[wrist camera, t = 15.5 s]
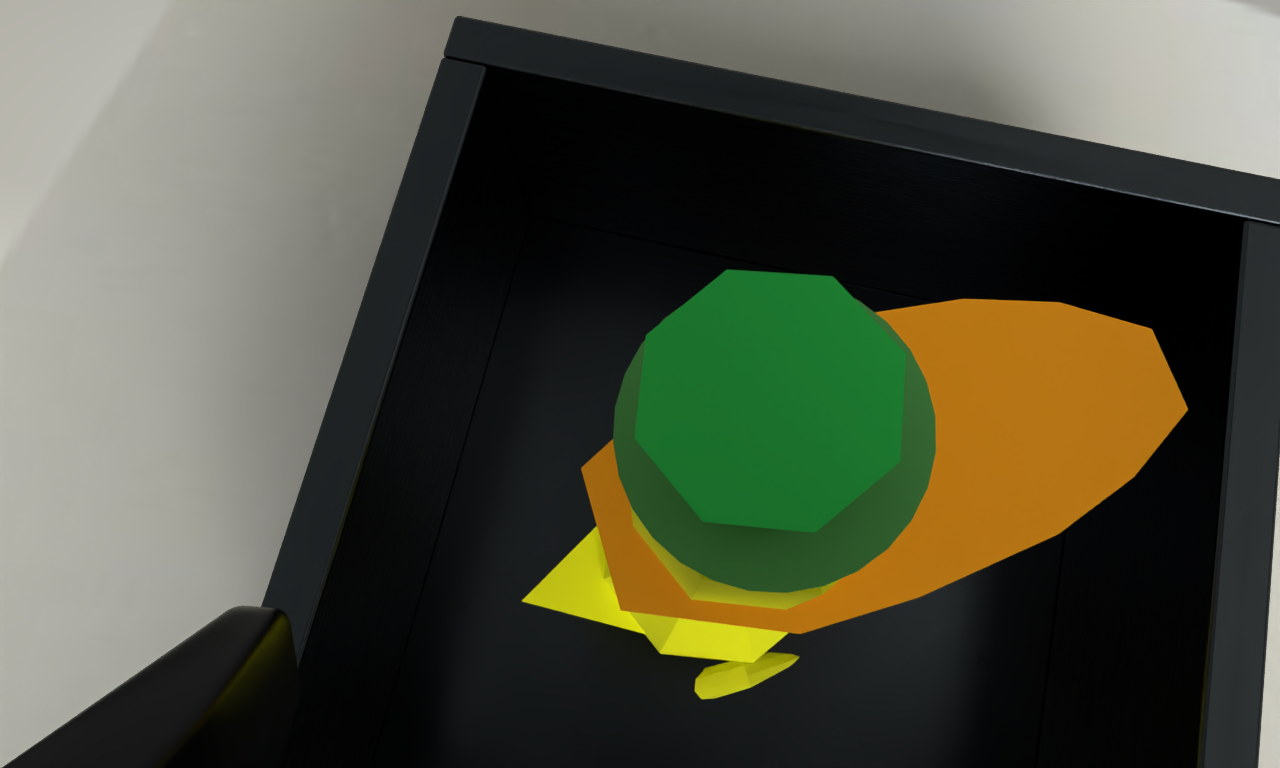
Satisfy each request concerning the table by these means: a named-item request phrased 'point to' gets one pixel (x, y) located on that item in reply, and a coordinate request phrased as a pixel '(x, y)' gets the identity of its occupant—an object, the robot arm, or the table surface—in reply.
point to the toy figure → (845, 459)
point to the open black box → (657, 286)
